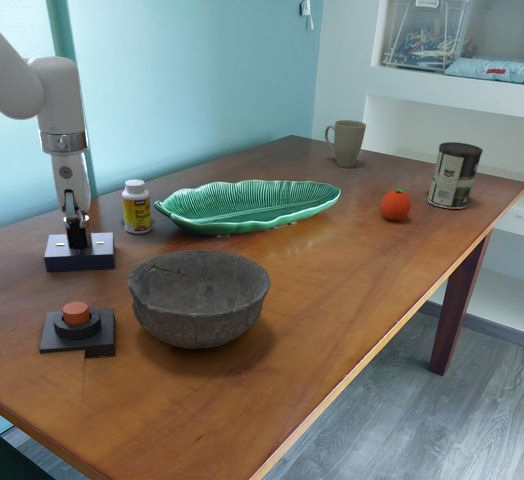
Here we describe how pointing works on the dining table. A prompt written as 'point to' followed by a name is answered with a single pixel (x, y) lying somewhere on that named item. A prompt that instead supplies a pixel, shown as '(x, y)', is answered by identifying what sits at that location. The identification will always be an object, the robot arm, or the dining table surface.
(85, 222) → the lock knob
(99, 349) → the button base
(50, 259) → the lock panel
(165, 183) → the dining table surface
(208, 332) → the bowl
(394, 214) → the clementine
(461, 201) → the coffee can
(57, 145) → the robot arm
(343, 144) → the mug
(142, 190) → the supplement bottle
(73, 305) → the orange short cylinder
